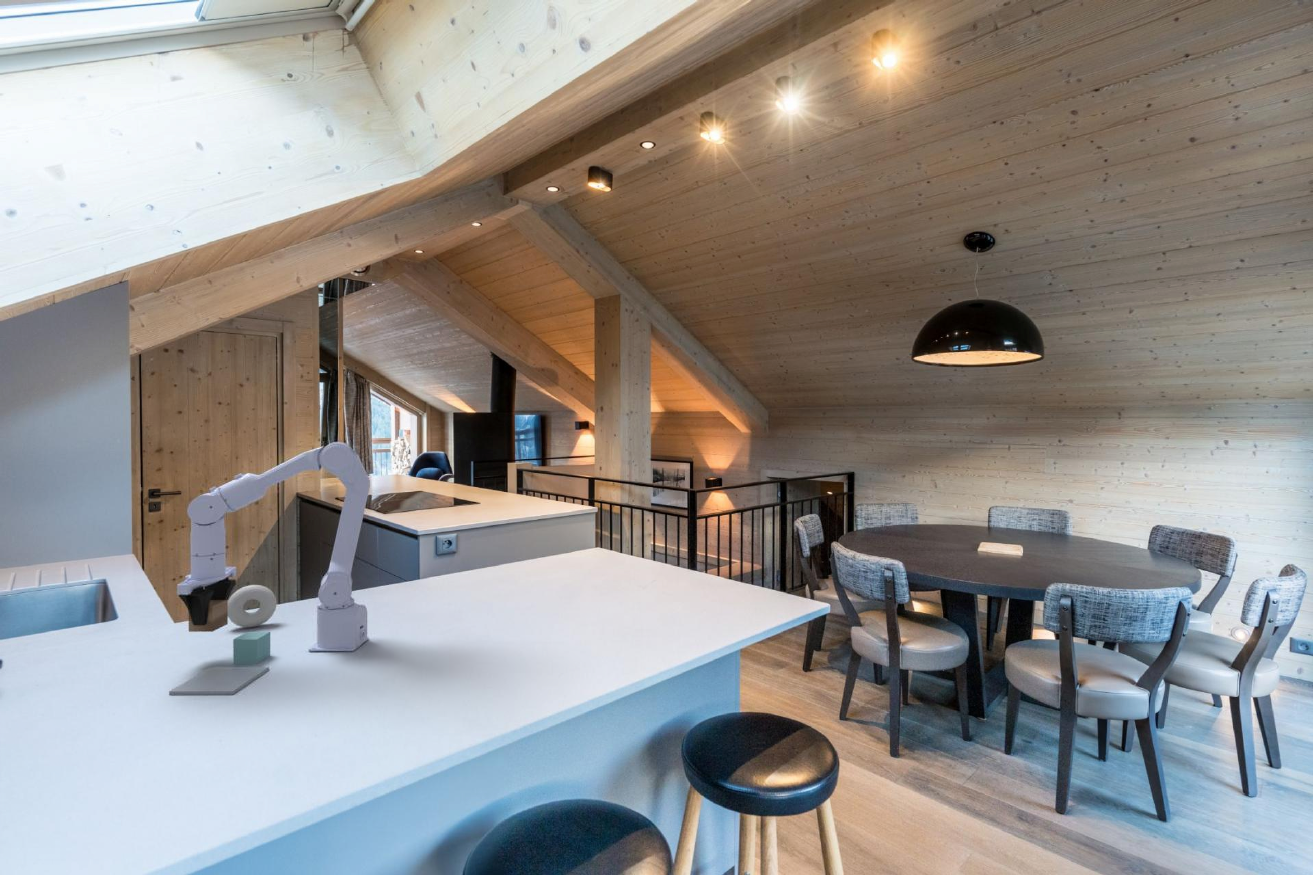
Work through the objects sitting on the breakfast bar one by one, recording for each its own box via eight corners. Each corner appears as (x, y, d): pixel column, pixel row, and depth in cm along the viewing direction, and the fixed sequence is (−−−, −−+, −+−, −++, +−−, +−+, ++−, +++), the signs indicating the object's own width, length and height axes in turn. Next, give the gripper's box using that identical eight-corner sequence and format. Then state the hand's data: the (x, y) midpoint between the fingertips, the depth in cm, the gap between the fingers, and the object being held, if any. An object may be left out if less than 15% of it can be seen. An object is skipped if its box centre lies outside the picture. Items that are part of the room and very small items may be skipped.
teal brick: (270, 655, 129) (270, 631, 129) (256, 664, 125) (256, 639, 124) (247, 655, 129) (247, 631, 129) (233, 664, 124) (233, 639, 124)
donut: (225, 632, 142) (225, 589, 142) (226, 628, 145) (226, 585, 145) (276, 625, 147) (276, 583, 147) (276, 621, 150) (276, 580, 150)
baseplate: (269, 669, 121) (269, 666, 121) (232, 694, 110) (232, 691, 110) (211, 669, 121) (211, 666, 121) (169, 694, 110) (169, 691, 110)
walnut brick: (227, 624, 128) (227, 599, 128) (212, 631, 123) (212, 606, 123) (204, 624, 127) (204, 599, 127) (188, 631, 123) (188, 606, 123)
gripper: (212, 546, 132) (212, 609, 132) (160, 561, 117) (160, 632, 118) (246, 546, 132) (246, 609, 133) (198, 561, 118) (199, 632, 118)
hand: (208, 620), depth 125 cm, fingers closed on walnut brick, 5 cm apart
